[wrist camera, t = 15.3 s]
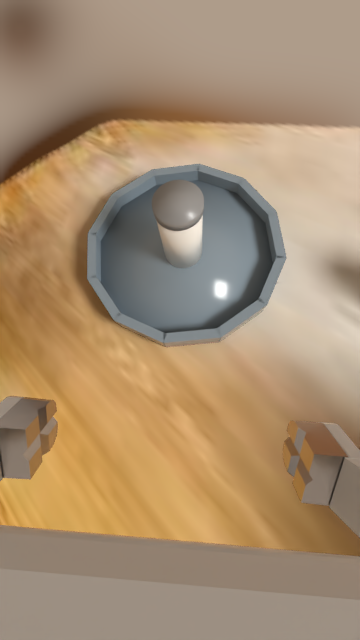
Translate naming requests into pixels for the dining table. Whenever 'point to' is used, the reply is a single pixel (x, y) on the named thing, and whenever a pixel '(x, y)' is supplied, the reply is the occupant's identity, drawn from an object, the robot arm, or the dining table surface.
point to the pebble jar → (180, 221)
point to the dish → (193, 282)
